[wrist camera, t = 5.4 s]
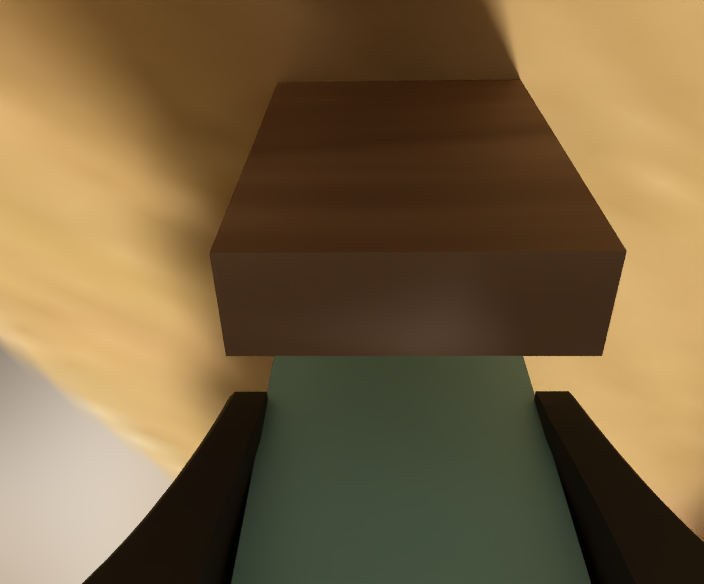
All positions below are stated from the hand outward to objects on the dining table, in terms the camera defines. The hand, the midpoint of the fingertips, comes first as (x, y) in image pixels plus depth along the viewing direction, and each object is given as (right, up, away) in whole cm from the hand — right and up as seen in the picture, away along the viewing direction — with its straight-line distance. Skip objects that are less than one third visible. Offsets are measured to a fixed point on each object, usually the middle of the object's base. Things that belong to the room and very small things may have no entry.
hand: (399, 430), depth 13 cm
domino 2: (0, +1, +2) cm, 2 cm away
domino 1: (0, +6, +1) cm, 7 cm away
